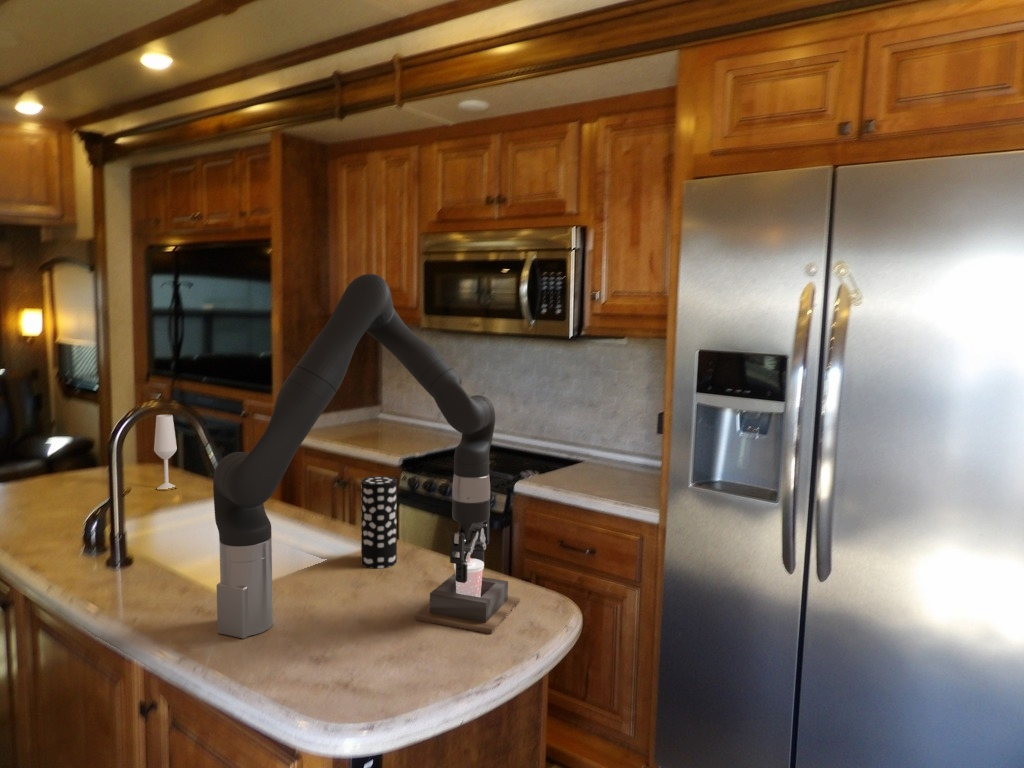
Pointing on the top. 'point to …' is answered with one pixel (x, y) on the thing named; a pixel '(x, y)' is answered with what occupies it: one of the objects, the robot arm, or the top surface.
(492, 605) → the cup holder
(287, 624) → the top surface
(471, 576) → the beverage cup
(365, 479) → the white-spotted black cylinder
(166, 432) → the champagne flute
